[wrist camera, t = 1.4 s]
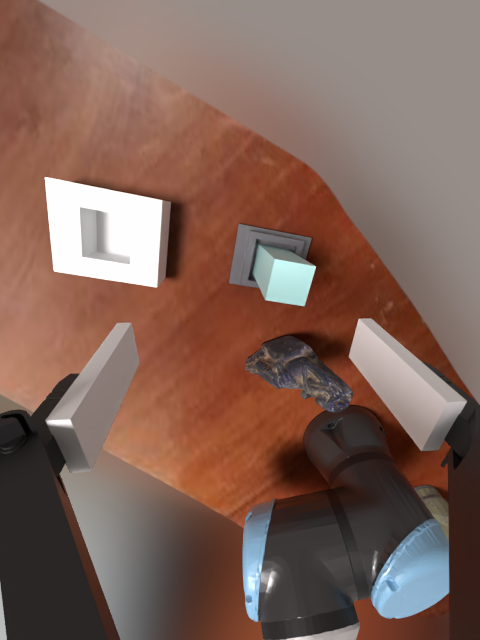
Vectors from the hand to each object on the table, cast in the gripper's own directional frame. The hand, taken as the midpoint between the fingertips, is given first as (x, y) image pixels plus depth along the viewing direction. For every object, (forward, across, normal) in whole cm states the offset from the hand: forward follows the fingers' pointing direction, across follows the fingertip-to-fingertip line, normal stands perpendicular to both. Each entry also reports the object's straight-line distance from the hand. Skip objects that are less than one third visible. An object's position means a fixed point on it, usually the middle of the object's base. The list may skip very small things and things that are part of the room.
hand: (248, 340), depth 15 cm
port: (+24, +14, -2) cm, 28 cm away
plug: (+22, -5, +1) cm, 23 cm away
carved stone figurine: (+22, -8, +16) cm, 28 cm away
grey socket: (+23, -5, +1) cm, 24 cm away
